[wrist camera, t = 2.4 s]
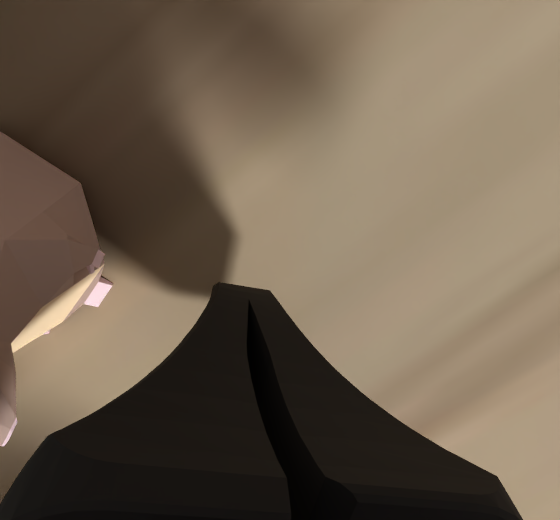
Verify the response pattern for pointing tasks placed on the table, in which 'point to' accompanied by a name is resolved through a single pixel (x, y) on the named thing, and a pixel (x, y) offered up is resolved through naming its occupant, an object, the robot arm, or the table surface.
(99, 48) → the table surface
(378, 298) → the table surface
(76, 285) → the mouse figurine
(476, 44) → the table surface
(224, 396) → the robot arm
